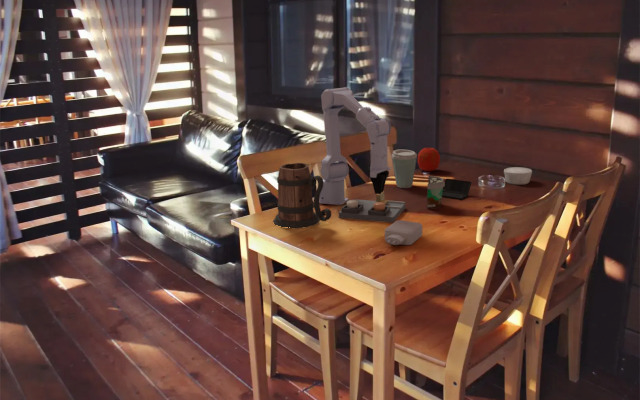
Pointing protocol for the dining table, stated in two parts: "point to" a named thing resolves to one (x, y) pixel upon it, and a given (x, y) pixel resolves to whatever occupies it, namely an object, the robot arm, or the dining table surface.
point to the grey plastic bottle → (403, 232)
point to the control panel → (373, 211)
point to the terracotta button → (379, 206)
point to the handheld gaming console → (456, 189)
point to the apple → (428, 159)
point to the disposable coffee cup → (404, 167)
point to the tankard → (298, 197)
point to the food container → (434, 192)
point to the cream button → (352, 204)
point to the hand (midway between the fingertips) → (379, 192)
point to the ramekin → (517, 175)
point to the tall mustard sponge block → (381, 198)
